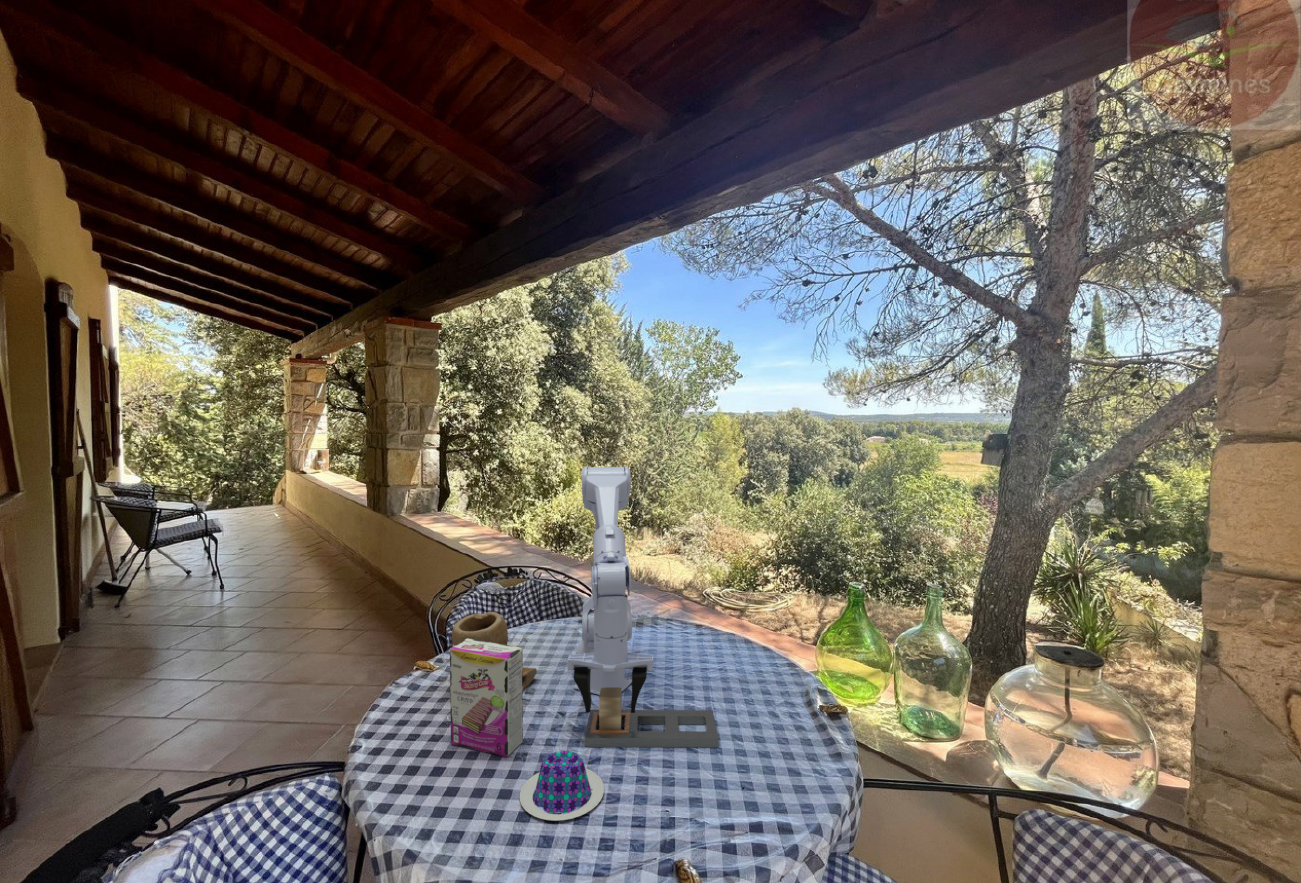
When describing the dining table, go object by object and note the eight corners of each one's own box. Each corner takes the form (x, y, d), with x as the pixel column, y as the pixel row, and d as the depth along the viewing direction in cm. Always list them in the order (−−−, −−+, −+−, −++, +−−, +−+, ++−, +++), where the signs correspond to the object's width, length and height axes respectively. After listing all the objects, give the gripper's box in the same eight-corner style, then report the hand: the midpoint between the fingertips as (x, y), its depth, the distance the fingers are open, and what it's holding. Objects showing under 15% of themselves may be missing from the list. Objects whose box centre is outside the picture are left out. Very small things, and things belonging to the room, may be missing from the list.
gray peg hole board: (584, 746, 95) (584, 736, 95) (590, 717, 104) (590, 708, 104) (718, 747, 95) (718, 737, 95) (712, 718, 104) (712, 709, 104)
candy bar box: (448, 746, 95) (447, 648, 94) (467, 730, 99) (466, 637, 99) (507, 759, 91) (506, 658, 90) (524, 742, 96) (523, 646, 95)
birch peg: (599, 738, 97) (599, 697, 97) (600, 726, 101) (600, 687, 101) (620, 738, 97) (620, 697, 97) (621, 726, 101) (621, 687, 101)
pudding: (606, 770, 89) (606, 737, 89) (601, 825, 77) (601, 787, 77) (528, 770, 89) (528, 737, 89) (511, 826, 77) (510, 788, 77)
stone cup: (439, 701, 109) (438, 623, 109) (469, 673, 121) (468, 603, 120) (515, 708, 107) (514, 629, 106) (538, 679, 119) (537, 607, 118)
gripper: (564, 641, 94) (565, 722, 95) (653, 641, 94) (653, 722, 95) (570, 625, 101) (570, 700, 102) (653, 625, 101) (652, 701, 102)
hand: (610, 709), depth 99 cm, fingers open, 7 cm apart
